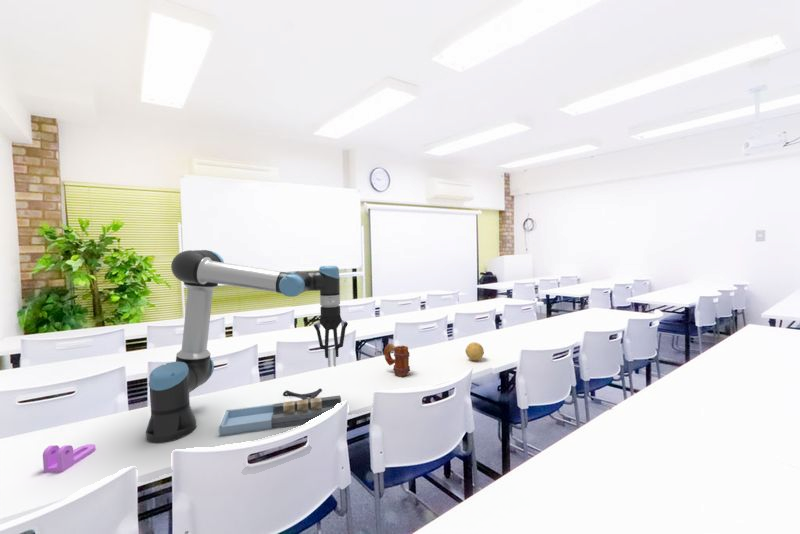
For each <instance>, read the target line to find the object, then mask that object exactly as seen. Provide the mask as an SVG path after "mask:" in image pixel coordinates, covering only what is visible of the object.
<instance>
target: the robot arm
mask: <svg viewBox="0 0 800 534" xmlns="http://www.w3.org/2000/svg"><path fill="white" fill-rule="evenodd" d="M170 270H171V273H172V274H173V276H174V277H175V279H177V280H178V281H180V282H183V286H185V287H186V288H187V294H186V303H185V315H184V323H183V332H182V333H183V334H182V343H181V349H180V350H179V351H178V352H176V355H175V356H176V357H175V361H172V362H166V364H160V365H159V366H157V367H155V368H154V369H152V370H151V371H150V373H149V379H148V380H149V381H148V386H149V397H150V398H149V400H150V418H149V421H148V425H147V426H146V429H145V430H146V431H145V439H146V441H148V442H149V443H167V442H172V441H175V440H179V439H181V438H183V437H185V436H188V435H189V434H192V433H193V432H194V431H195V430H196V429H197V419H196V417H195V414H194V411H193V410H192V408H191V402H190V401H191V400H190V399H191V398H190V393H191V392H192V391H194V390H195V389H197V388H198V387H200V386H202V385H204V384H205V383H206V382H207V381H208V380H209V379H210V378H211V377H212V375H213V373H214V370H215V363H214V360H212V358H211V352H210V351H209V350H208V340H209V330H210V322H211V311H212V304H213V301H212V300H213V295H214V294H213V293H214V290H215V289H216V288H217V287H218V286H219V285H225V286H232V287H236V288H237V287H238V288H245V289H252V290H256V291H258V290H259V291H264V292H272V293H277V294H281V295H283V296H286V297H291V298H293V297H297V296H299V295H300V294H302V293H304V292H314V291H315V292H318V291H319V300H320V318H319V321H318V322H316V323H314V324H313V327H314V329H315V331H316V335H317V339H318V344H319V348H320V350H324V358H325V359H327V365H328V368H331V366H332V365H331V349H330V348H329V340H330V339H329V338H330V337H329V335H330V331H331V330H332V332H333V333H332V334H333V341H334V342H333V343H334V347H332V361H333V363H332V364H333V367H337V358H338V357H339V349H340V348H343V347H344V343H345V342H344V341H345V336H346V335H345V334H346V328H347V326H348V325H349V323H348V322H347V321H346V320H342V319H343V318H342V317H341V306H340V304H341V293H340V292H341V290H340V285H341V283H340V282H341V281H340V270H339V267H338V266H336V265H320V266H319V269H318V271H300V270H299V271H291V272H286V271H285V272H284V271H278V270H272V269H267V268H259V267H253V266H248V265H247V266H246V265H240V264H236V263H235V264H234V263H227V262H225V261H224V259H223V257H222V256H221V255H220V254H219V253H218V252H215V251H213V250H209V249H208V250H207V249H202V250H200V249H195V250H184V251H181V252H179V253H177V254H176V255H175V257H173V259H172V261H171V266H170ZM340 325H341V331H340V336H339V339H338V328H339V327H340ZM321 326H322V327H323V328H324V344H323V339H322V334H321V330H320V328H321ZM338 340H339V341H338Z"/></svg>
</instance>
